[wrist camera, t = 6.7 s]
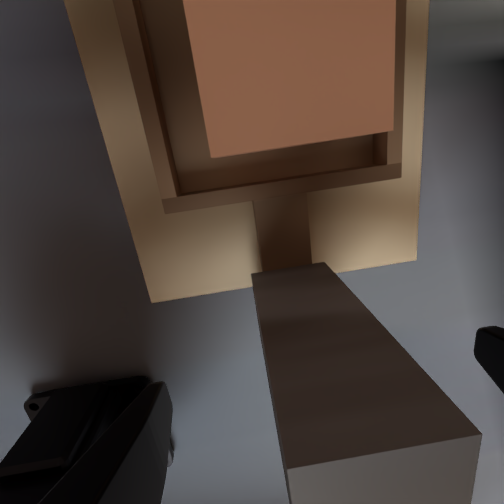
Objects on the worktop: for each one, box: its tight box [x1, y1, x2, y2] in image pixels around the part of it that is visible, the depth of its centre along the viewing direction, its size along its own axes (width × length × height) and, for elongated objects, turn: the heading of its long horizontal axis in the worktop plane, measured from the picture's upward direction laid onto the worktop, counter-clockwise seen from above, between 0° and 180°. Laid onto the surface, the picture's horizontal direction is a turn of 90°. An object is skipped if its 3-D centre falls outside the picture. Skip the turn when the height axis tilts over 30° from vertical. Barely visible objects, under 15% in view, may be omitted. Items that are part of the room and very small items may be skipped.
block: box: [183, 0, 396, 158], centre depth 7 cm, size 4×4×4 cm
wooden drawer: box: [113, 0, 482, 504], centre depth 7 cm, size 13×8×8 cm, turn 8°
